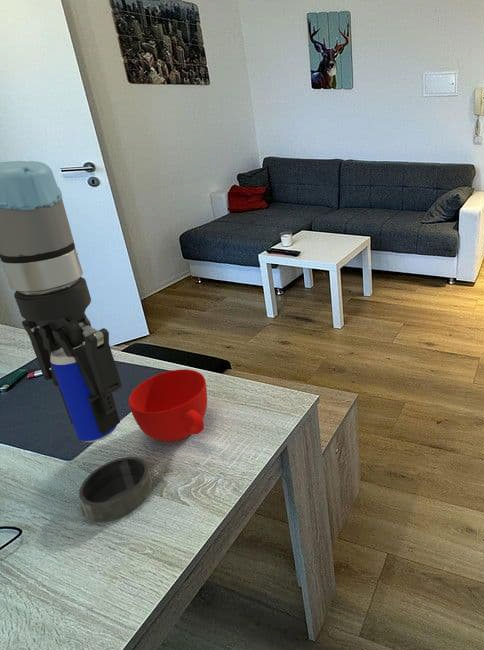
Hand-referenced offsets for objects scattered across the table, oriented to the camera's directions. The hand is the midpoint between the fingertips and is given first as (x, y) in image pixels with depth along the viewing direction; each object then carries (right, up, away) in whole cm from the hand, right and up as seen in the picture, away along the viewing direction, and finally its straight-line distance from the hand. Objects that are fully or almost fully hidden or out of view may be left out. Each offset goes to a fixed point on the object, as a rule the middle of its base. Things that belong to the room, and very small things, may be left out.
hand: (95, 422), depth 65 cm
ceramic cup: (+4, -9, +19) cm, 21 cm away
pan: (0, -14, +6) cm, 16 cm away
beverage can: (0, -2, +1) cm, 2 cm away
